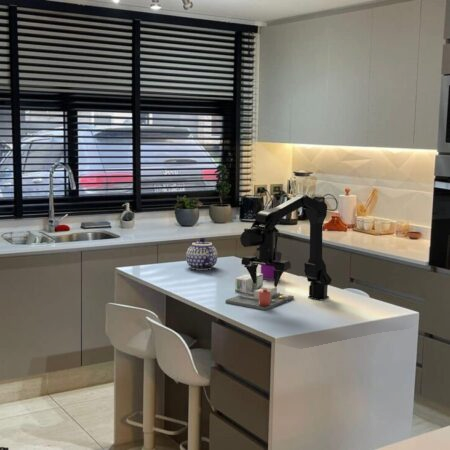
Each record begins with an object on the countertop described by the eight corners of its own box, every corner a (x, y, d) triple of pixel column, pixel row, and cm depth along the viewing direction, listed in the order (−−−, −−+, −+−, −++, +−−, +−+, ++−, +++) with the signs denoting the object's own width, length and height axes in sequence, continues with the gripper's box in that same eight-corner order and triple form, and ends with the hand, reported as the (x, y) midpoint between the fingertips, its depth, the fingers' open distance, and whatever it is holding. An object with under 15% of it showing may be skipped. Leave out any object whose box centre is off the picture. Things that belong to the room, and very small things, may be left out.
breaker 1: (270, 299, 275) (271, 290, 274) (265, 301, 271) (265, 292, 271) (260, 297, 278) (260, 288, 277) (254, 299, 274) (254, 290, 274)
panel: (293, 299, 281) (293, 293, 281) (265, 310, 263) (265, 304, 263) (255, 292, 291) (255, 287, 291) (225, 302, 273) (225, 297, 273)
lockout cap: (272, 304, 268) (272, 289, 267) (266, 306, 264) (266, 291, 263) (262, 302, 270) (262, 287, 269) (256, 304, 266) (256, 289, 266)
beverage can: (265, 275, 322) (265, 250, 321) (280, 278, 319) (281, 252, 317) (257, 278, 316) (258, 252, 314) (272, 281, 312) (273, 254, 310)
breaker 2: (276, 295, 281) (276, 286, 281) (271, 297, 278) (271, 288, 277) (266, 293, 284) (266, 285, 284) (260, 295, 281) (260, 287, 280)
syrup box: (251, 271, 303) (234, 277, 291) (263, 273, 300) (246, 279, 288) (251, 284, 304) (233, 291, 292) (263, 286, 301) (246, 293, 289)
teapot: (225, 272, 328) (225, 241, 326) (194, 274, 323) (195, 243, 321) (208, 262, 351) (208, 232, 349) (179, 263, 346) (179, 234, 344)
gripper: (298, 244, 265) (297, 284, 267) (256, 239, 275) (255, 278, 278) (283, 248, 256) (282, 290, 258) (240, 243, 266) (240, 283, 269)
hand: (265, 285), depth 266 cm, fingers open, 9 cm apart
